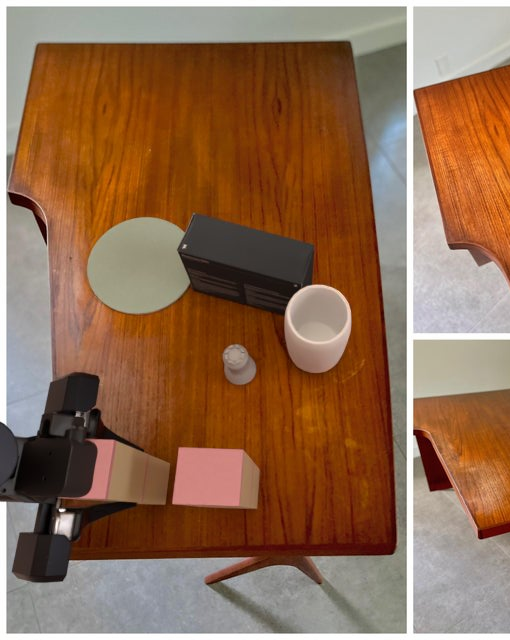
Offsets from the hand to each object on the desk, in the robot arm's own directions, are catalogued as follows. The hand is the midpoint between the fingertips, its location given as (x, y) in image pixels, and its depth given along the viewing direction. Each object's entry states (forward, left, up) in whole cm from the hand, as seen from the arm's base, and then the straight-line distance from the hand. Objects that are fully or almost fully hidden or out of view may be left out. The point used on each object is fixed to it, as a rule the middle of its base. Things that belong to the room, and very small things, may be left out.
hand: (138, 477), depth 57 cm
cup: (+24, +12, -14) cm, 30 cm away
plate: (+3, +32, -13) cm, 35 cm away
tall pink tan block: (+8, -3, -13) cm, 16 cm away
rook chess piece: (+13, +12, -14) cm, 22 cm away
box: (+18, +24, -14) cm, 33 cm away
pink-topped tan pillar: (-1, 0, -11) cm, 11 cm away
